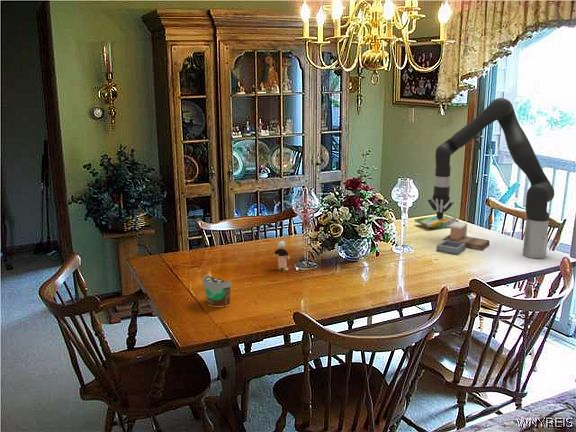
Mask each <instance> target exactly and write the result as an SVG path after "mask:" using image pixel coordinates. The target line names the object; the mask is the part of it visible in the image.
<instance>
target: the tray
mask: <svg viewBox="0 0 576 432" xmlns="http://www.w3.org/2000/svg"><path fill="white" fill-rule="evenodd" d="M465 245H466V244H465V243H460V242H454V241H449V240H444V241H440V242H439V243H438V244H436V248H435V249H436V252H439V253H444V254H449V255H454V256H458V255H460V254H461V253H462V252H465V250H466V248H465Z"/></svg>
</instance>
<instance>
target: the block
mask: <svg viewBox="0 0 576 432" xmlns="http://www.w3.org/2000/svg"><path fill="white" fill-rule="evenodd" d="M449 235H450V239H456V240H461V239H462V238H463V228H462V229H458V228H452V227H450V234H449Z"/></svg>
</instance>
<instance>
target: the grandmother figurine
mask: <svg viewBox="0 0 576 432" xmlns="http://www.w3.org/2000/svg"><path fill="white" fill-rule="evenodd" d="M277 247H278V249H276V250H275V251H273V252H274V253H273V256H272V257H274V258H275V257H278V258H277V259H278V260H277V263H278V269H279V271H284V270H286V271H288V270H289V267H287V266H288V265H287V260H290V259H291V257H290V254H289V252H288V250H287V249H285V247H286V241H284V240H281V241H279V242H278V243H277ZM277 255H278V256H277ZM278 269H277V270H278ZM281 269H282V270H281Z"/></svg>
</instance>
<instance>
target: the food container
mask: <svg viewBox="0 0 576 432" xmlns="http://www.w3.org/2000/svg"><path fill="white" fill-rule="evenodd" d="M209 275H210V274H209V273H208V274H206V275H205V276H204V277H203V279H202V286H204V290H205V296H206V297H205V298H206V304H207V303H208V304H209V305H212V306H225V305H228V304H230V303H231V288H232V281H231V280H228V281H225V280H223V279H221V278H218V277H217V278H216V277H213V276H209ZM208 304H207V305H208Z"/></svg>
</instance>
